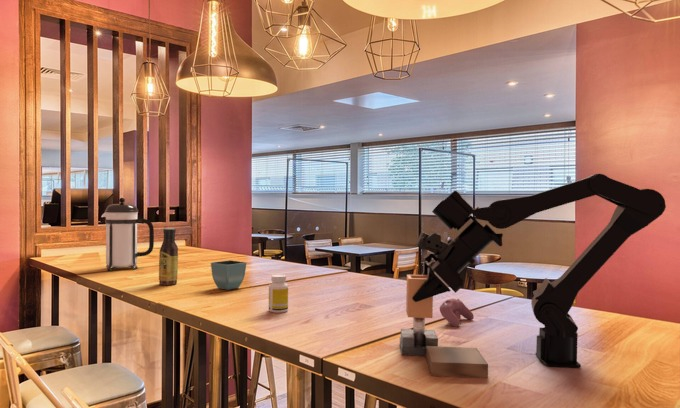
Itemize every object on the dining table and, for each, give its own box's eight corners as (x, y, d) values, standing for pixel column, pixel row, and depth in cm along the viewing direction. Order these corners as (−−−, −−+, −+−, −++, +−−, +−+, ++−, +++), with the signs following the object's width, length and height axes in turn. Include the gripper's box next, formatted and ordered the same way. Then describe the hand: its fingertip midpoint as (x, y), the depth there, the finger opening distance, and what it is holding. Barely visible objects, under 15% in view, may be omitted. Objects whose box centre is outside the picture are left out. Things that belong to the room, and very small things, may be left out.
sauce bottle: (156, 283, 166) (156, 228, 165) (173, 281, 170) (173, 227, 169) (163, 286, 161) (163, 229, 160) (180, 284, 165) (181, 228, 165)
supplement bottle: (292, 310, 130) (292, 275, 130) (276, 314, 126) (277, 278, 126) (279, 307, 134) (279, 273, 134) (264, 310, 130) (264, 275, 130)
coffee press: (123, 272, 188) (123, 198, 187) (93, 269, 193) (93, 197, 193) (154, 266, 204) (155, 198, 203) (126, 264, 209) (126, 197, 209)
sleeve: (429, 311, 101) (430, 275, 101) (432, 318, 96) (433, 279, 96) (406, 311, 101) (406, 274, 101) (407, 317, 96) (408, 278, 96)
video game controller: (461, 323, 125) (451, 298, 127) (476, 318, 123) (465, 293, 125) (444, 331, 118) (433, 304, 120) (459, 326, 115) (448, 299, 117)
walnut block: (476, 360, 93) (477, 347, 93) (487, 377, 84) (488, 364, 84) (426, 358, 94) (426, 346, 94) (431, 375, 85) (431, 362, 85)
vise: (434, 345, 102) (435, 311, 102) (439, 356, 95) (439, 319, 95) (399, 343, 102) (400, 310, 102) (401, 354, 95) (402, 318, 95)
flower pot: (229, 284, 166) (230, 259, 166) (247, 288, 161) (247, 262, 160) (209, 288, 159) (209, 262, 158) (227, 292, 154) (227, 265, 153)
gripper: (433, 216, 107) (384, 263, 108) (446, 221, 88) (387, 277, 89) (467, 251, 107) (418, 298, 108) (488, 263, 88) (428, 319, 89)
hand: (412, 297), depth 99 cm, fingers closed on sleeve, 5 cm apart
